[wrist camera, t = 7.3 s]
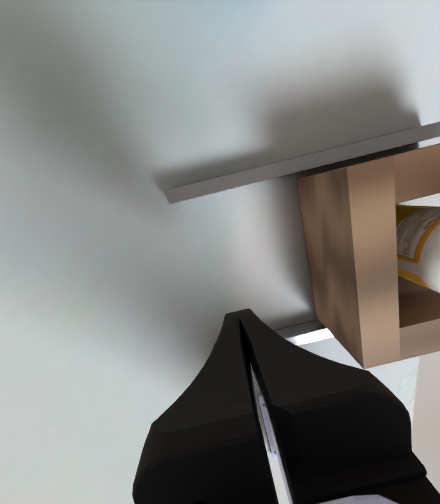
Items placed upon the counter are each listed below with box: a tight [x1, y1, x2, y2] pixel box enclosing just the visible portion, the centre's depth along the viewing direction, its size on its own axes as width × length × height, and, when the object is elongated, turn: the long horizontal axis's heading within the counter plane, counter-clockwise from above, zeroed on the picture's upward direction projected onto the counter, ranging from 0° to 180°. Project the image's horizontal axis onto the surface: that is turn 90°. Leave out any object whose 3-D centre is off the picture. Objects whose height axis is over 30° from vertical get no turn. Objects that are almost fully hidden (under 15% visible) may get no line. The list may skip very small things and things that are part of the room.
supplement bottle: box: [395, 205, 440, 293], centre depth 14 cm, size 5×5×10 cm
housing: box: [297, 143, 440, 369], centre depth 16 cm, size 13×10×6 cm
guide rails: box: [165, 122, 440, 346], centre depth 18 cm, size 16×21×2 cm
